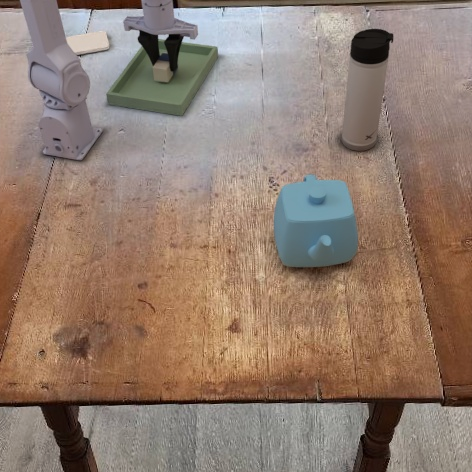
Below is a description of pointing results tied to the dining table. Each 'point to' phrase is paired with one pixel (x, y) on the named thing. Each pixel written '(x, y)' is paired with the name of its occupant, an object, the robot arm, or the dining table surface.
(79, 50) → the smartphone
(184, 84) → the tray
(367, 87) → the travel mug
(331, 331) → the dining table surface
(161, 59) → the eraser
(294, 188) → the teapot
